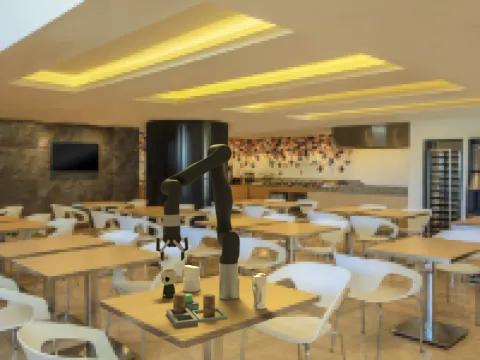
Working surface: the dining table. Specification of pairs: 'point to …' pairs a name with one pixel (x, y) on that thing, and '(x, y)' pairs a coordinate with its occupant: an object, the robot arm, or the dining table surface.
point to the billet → (208, 305)
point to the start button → (188, 298)
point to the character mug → (169, 281)
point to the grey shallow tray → (182, 318)
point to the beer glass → (259, 290)
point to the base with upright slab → (191, 278)
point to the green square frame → (210, 317)
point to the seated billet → (178, 303)
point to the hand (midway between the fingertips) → (172, 260)
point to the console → (192, 305)
